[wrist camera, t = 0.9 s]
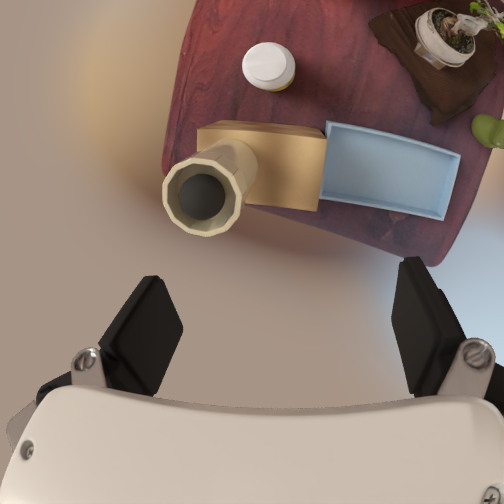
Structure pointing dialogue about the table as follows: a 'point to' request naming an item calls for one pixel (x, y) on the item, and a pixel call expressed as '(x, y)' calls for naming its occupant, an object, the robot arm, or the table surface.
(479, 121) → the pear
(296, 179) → the plinth
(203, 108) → the table surface
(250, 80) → the pill bottle
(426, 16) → the potted plant
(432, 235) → the table surface
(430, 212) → the tray
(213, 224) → the jar
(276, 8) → the table surface
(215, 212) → the ball
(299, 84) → the table surface
